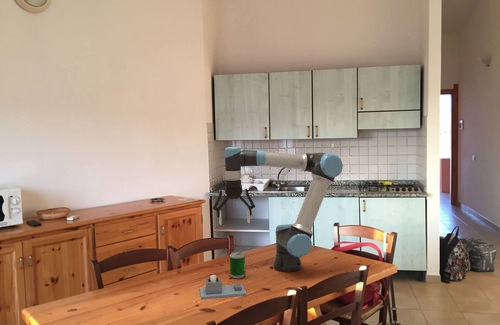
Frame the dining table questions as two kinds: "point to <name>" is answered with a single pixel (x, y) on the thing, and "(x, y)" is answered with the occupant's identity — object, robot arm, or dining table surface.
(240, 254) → the soda can
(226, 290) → the keeper
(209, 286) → the grey tapered block
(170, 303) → the dining table surface
